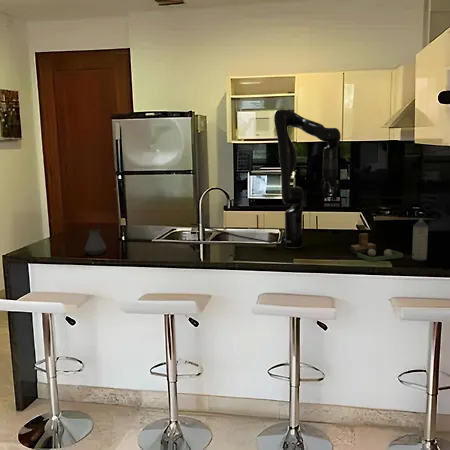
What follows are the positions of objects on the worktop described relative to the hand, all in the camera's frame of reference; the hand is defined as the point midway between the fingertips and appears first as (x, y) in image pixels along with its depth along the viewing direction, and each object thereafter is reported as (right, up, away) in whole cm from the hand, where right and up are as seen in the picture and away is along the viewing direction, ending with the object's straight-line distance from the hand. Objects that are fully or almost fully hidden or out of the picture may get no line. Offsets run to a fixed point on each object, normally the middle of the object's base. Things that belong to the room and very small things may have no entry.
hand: (329, 199), depth 275 cm
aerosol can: (+41, -30, -13) cm, 53 cm away
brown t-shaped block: (+19, -27, +6) cm, 33 cm away
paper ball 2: (+28, -27, -8) cm, 40 cm away
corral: (+24, -29, -7) cm, 38 cm away
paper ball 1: (+20, -27, -6) cm, 34 cm away
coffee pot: (-124, -28, +21) cm, 129 cm away
